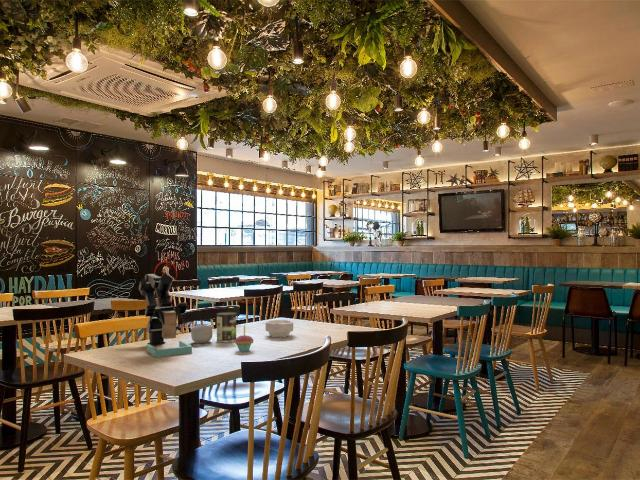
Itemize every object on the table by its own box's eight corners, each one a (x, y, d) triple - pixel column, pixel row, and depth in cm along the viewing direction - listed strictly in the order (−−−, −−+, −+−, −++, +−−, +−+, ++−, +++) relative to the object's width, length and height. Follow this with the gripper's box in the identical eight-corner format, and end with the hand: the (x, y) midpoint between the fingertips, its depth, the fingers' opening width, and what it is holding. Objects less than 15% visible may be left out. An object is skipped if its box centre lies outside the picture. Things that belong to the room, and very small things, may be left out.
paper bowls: (298, 335, 262) (298, 320, 262) (282, 339, 249) (282, 324, 249) (276, 332, 270) (276, 318, 270) (259, 336, 257) (259, 322, 258)
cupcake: (236, 348, 227) (235, 323, 227) (253, 348, 228) (253, 323, 228) (234, 352, 218) (234, 326, 218) (252, 352, 219) (252, 326, 219)
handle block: (162, 337, 222) (162, 311, 222) (172, 336, 225) (172, 310, 225) (165, 339, 218) (165, 312, 218) (175, 337, 221) (176, 312, 221)
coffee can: (240, 339, 252) (240, 312, 252) (230, 342, 242) (230, 315, 242) (223, 338, 255) (222, 311, 255) (212, 341, 245) (212, 314, 245)
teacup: (206, 344, 237) (206, 328, 237) (186, 344, 239) (186, 328, 239) (218, 339, 251) (218, 324, 251) (199, 338, 253) (199, 323, 253)
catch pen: (146, 351, 223) (146, 344, 223) (181, 346, 232) (181, 340, 232) (155, 357, 210) (155, 350, 210) (192, 352, 219) (191, 346, 219)
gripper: (179, 306, 239) (185, 332, 230) (140, 309, 229) (145, 336, 220) (184, 292, 233) (191, 318, 224) (144, 294, 223) (150, 321, 213)
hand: (169, 323), depth 220 cm, fingers closed on handle block, 5 cm apart
